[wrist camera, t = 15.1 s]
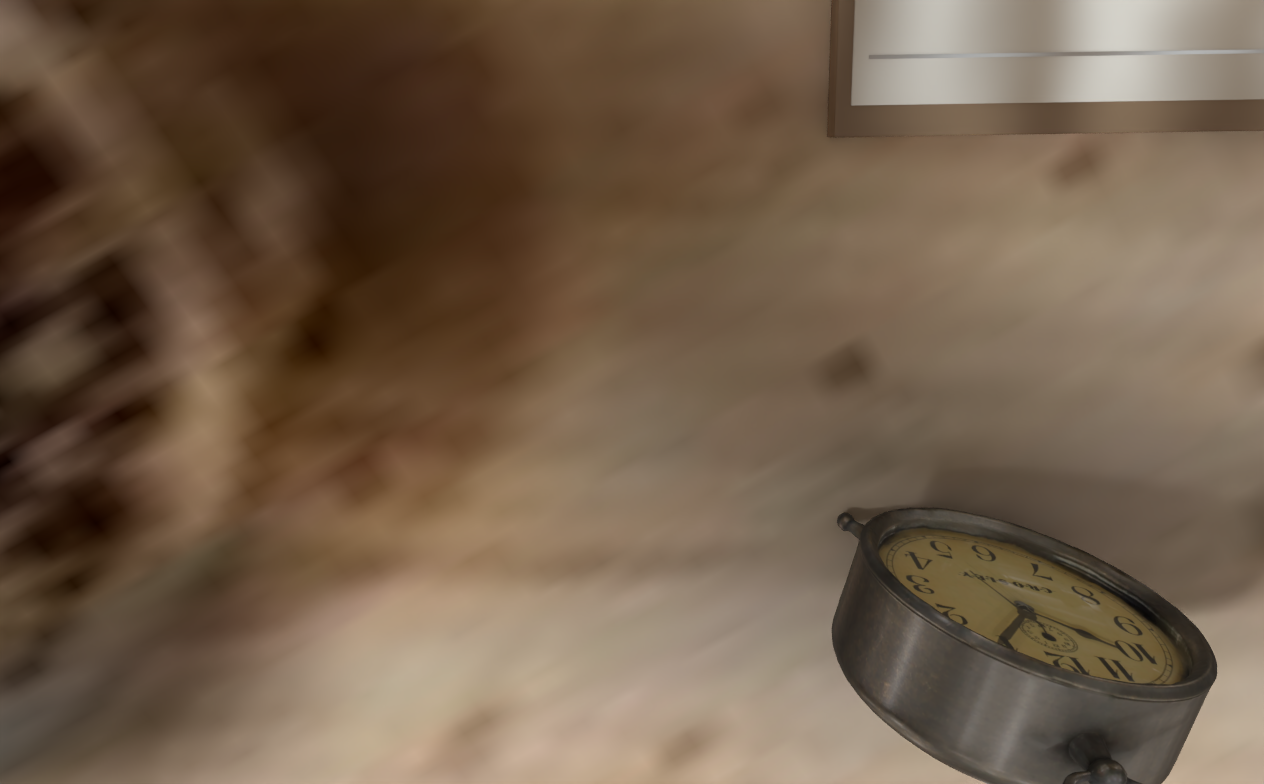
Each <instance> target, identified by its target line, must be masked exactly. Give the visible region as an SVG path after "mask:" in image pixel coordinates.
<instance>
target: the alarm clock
mask: <svg viewBox="0 0 1264 784" xmlns="http://www.w3.org/2000/svg"><path fill="white" fill-rule="evenodd" d="M837 523H838V526H839V527H840V528H841V529H842V530H843V531H850V532H852V533H853V534H854V535H855V536H856V537H857V538H858V539H859V544H858V547H857V550H856V553H855V556H854V559H853V562H852V565H851V568H850V571H849V574H848V577H847V580H846V583H845V586H844V589H843V592H842V594H841V597H840V600H839V603H838V606H837V609H836V613H835V616H834V619H833V624H832V640H833V647H834V651H835V654H836V657H837V660H838V662H839V664H840V667H841V669H842V671H843V673H844V675H845V676H846V678H847V680H848V682H849V683H850V684H851V686H852V687H853V688H854V690H855V691H856V692H857V694H858V695H859V696H860V698H861V699H862V700H863V701H864V702H865V703H866V704H867V705H868V706H869V708H870V709H871V710H872V711H873V712H874V713H875V714H876V715H877V716H879V717H880V718H881V719H882V720H883V721H884V722H885V723H886V724H888V725H889V726H890V727H891V728H892V729H894V730H895V731H896V732H897V733H899V734H900V735H901V736H902V737H904V738H905V739H907V740H908V741H909V742H911V743H912V744H914V745H915V746H917V747H918V748H920V749H921V750H923V751H924V752H926V753H927V754H929V755H930V756H932V757H933V758H935V759H937V760H939V761H940V762H942V763H944V764H946V765H948V766H950V767H952V768H954V769H956V770H958V771H960V772H962V773H964V774H966V775H968V776H971V777H973V778H975V779H977V780H980V781H982V782H985V783H987V784H1161V783H1162V782H1163V781H1164V780H1165V779H1166V778H1167V776H1168V775H1169V773H1170V772H1171V770H1172V768H1173V766H1174V764H1175V762H1176V760H1177V758H1178V756H1179V754H1180V751H1181V749H1182V747H1183V745H1184V743H1185V741H1186V739H1187V736H1188V734H1189V732H1190V730H1191V728H1192V726H1193V724H1194V721H1195V719H1196V717H1197V715H1198V713H1199V711H1200V709H1201V706H1202V704H1203V702H1204V700H1205V698H1206V696H1207V694H1208V692H1209V690H1210V687H1211V686H1212V685H1213V683H1214V681H1215V679H1216V676H1217V662H1216V659H1215V656H1214V654H1213V651H1212V649H1211V647H1210V646H1209V644H1208V642H1207V641H1206V639H1205V637H1204V636H1203V634H1202V633H1201V632H1200V630H1199V629H1198V628H1197V627H1196V626H1195V625H1194V624H1193V623H1192V622H1191V621H1190V620H1189V619H1188V618H1187V617H1186V616H1185V615H1184V614H1183V613H1182V612H1181V611H1179V610H1178V609H1177V608H1176V607H1174V606H1173V605H1172V604H1170V603H1169V602H1168V601H1166V600H1165V599H1164V598H1162V597H1161V596H1160V595H1158V594H1157V593H1156V592H1154V591H1153V590H1151V589H1150V588H1149V587H1147V586H1146V585H1144V584H1142V583H1141V582H1139V581H1137V580H1136V579H1134V578H1133V577H1131V576H1129V575H1128V574H1126V573H1124V572H1123V571H1121V570H1119V569H1117V568H1115V567H1114V566H1112V565H1110V564H1108V563H1106V562H1104V561H1102V560H1100V559H1098V558H1096V557H1094V556H1092V555H1091V554H1089V553H1087V552H1085V551H1082V550H1080V549H1078V548H1075V547H1072V546H1070V545H1068V544H1065V543H1063V542H1061V541H1058V540H1056V539H1054V538H1051V537H1048V536H1046V535H1043V534H1040V533H1037V532H1035V531H1032V530H1030V529H1027V528H1024V527H1021V526H1018V525H1015V524H1012V523H1008V522H1005V521H1001V520H997V519H993V518H989V517H985V516H981V515H975V514H971V513H966V512H960V511H954V510H948V509H938V508H907V509H899V510H894V511H889V512H885V513H883V514H880V515H878V516H876V517H874V518H872V519H871V520H870V521H869V522H868V523H867V524H866V525H863V524H860V523H858V522H856V521H855V520H854V519H853V517H852V516H851V515H850V514H849V513H842V514H841V515H839V516H838V518H837Z"/></svg>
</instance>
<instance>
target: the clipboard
mask: <svg viewBox="0 0 1264 784" xmlns="http://www.w3.org/2000/svg"><path fill="white" fill-rule="evenodd" d="M1258 130H1264V0H832V3H831V34H830V66H829V97H828V128H827V137H880V136H943V135H1006V134H1069V133H1132V132H1195V131H1258Z"/></svg>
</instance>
